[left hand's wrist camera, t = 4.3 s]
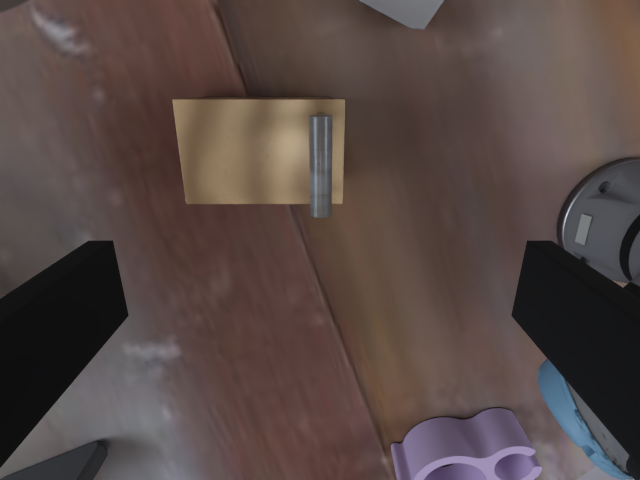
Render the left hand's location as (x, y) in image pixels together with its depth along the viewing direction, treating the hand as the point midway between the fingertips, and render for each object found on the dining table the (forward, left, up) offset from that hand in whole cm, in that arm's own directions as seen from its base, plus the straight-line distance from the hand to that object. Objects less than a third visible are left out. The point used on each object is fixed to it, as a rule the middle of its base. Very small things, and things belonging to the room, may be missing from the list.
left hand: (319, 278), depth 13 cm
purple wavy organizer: (-22, +48, -36) cm, 64 cm away
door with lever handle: (+6, 0, -27) cm, 27 cm away
